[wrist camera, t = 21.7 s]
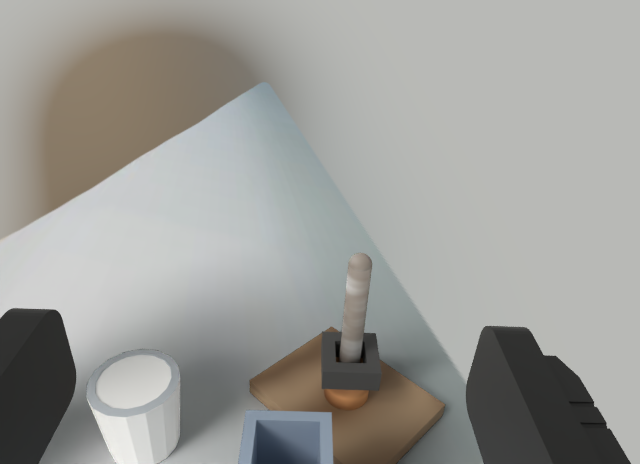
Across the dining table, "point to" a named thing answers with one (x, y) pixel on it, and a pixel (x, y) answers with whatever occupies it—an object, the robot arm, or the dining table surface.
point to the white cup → (137, 405)
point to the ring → (350, 364)
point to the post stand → (352, 405)
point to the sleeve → (286, 437)
